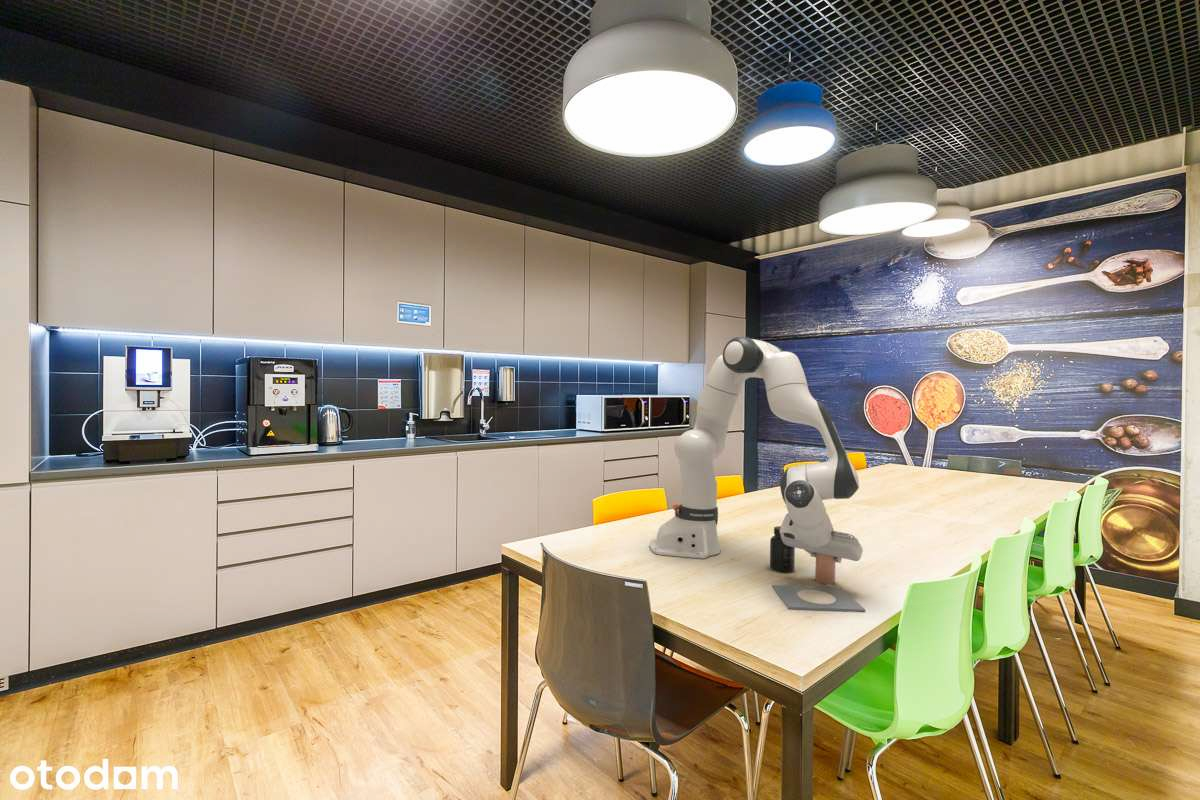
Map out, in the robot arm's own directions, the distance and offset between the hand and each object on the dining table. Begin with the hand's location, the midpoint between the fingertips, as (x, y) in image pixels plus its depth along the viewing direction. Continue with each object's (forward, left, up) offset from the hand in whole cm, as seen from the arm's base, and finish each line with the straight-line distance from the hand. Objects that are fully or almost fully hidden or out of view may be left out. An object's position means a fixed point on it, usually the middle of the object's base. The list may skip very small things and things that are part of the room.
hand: (826, 557), depth 150 cm
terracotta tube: (0, 0, -6) cm, 6 cm away
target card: (-7, -13, -6) cm, 17 cm away
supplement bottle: (-9, +9, -7) cm, 14 cm away
